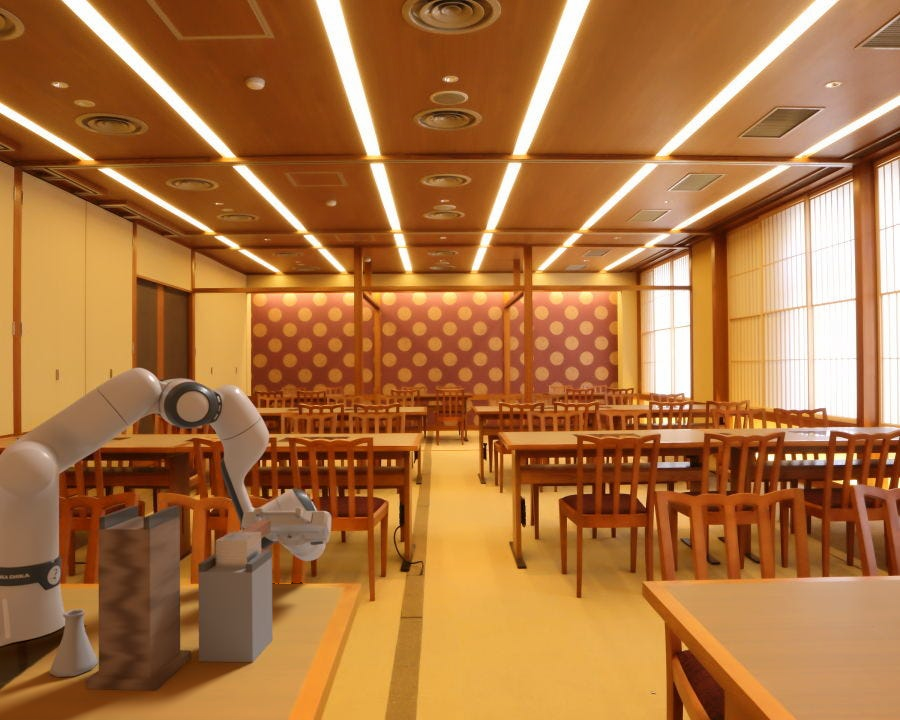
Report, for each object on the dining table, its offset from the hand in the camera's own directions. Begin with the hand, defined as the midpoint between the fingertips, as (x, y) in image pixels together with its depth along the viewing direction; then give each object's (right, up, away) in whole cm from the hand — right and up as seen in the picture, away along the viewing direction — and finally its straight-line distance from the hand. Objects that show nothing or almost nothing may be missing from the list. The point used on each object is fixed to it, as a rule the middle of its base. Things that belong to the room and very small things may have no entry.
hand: (277, 511), depth 144 cm
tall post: (-15, -21, -31) cm, 41 cm away
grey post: (-2, -21, -22) cm, 31 cm away
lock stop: (-1, -5, -16) cm, 17 cm away
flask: (-28, -21, -29) cm, 46 cm away
